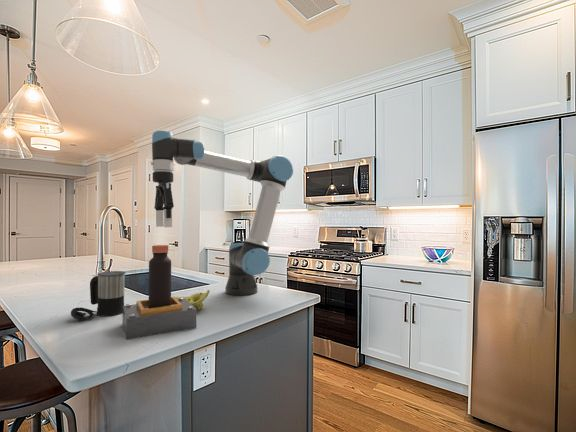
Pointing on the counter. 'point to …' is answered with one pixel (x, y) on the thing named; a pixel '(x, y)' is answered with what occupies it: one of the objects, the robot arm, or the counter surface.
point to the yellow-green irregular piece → (196, 299)
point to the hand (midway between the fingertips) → (163, 227)
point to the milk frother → (104, 295)
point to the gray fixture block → (158, 318)
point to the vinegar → (159, 277)
